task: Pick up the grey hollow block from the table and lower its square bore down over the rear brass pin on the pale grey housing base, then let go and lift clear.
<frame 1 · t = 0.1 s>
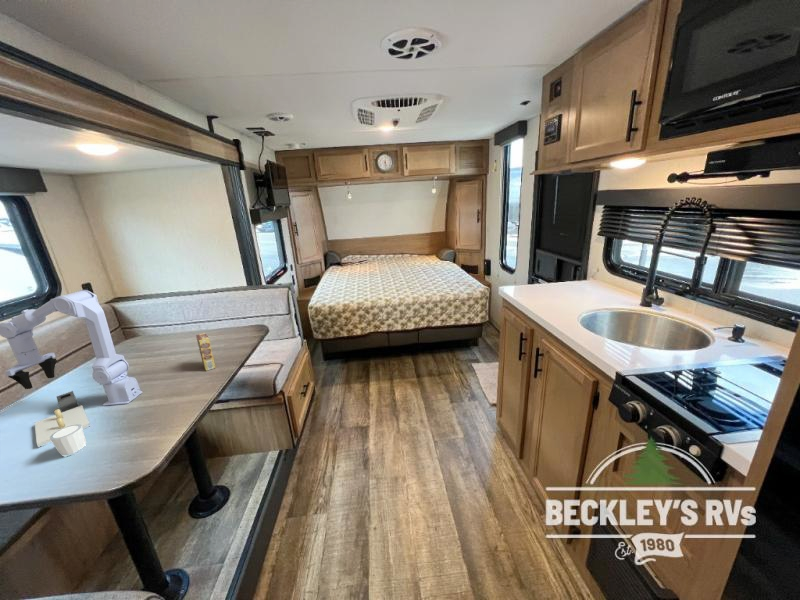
hand: (40, 382, 118), 10 cm above the table, tool pointing down, fingers open, 7 cm apart
grey hollow block: (70, 407, 119), on the table
white faceted cup: (74, 450, 95), on the table
housing base: (63, 426, 107), on the table
candy box: (209, 366, 145), on the table
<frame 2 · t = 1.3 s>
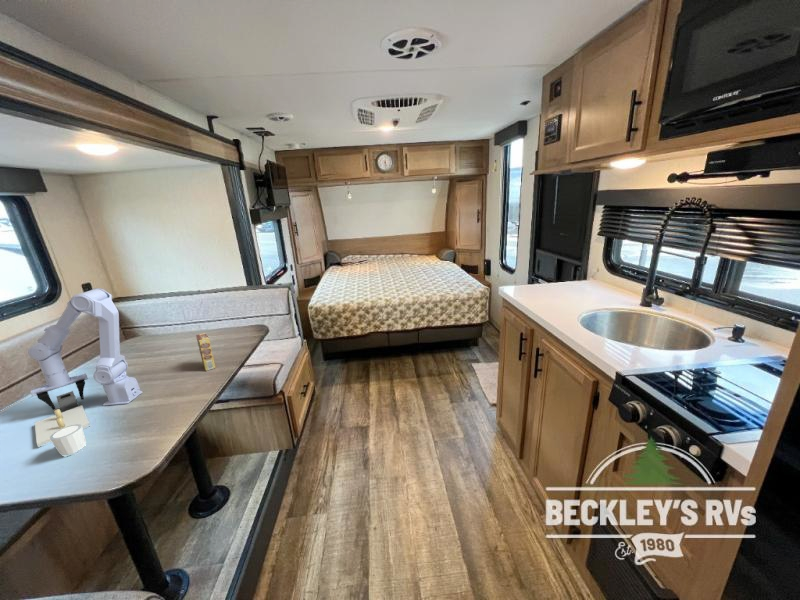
hand: (68, 403, 118), 2 cm above the table, tool pointing down, fingers open, 7 cm apart
nothing on the table moved.
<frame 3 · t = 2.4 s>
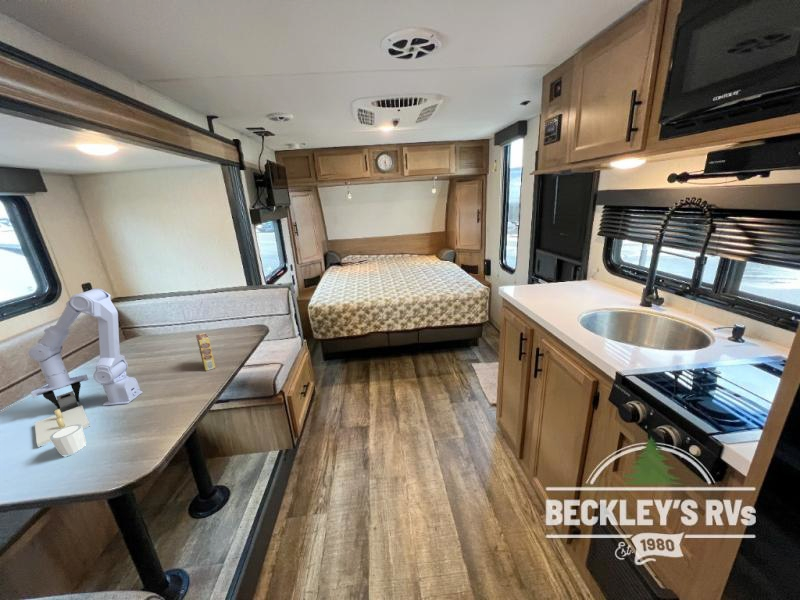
hand: (68, 404, 118), 1 cm above the table, tool pointing down, fingers closed on grey hollow block, 4 cm apart
grey hollow block: (70, 407, 119), on the table, touching gripper
everything else where it was.
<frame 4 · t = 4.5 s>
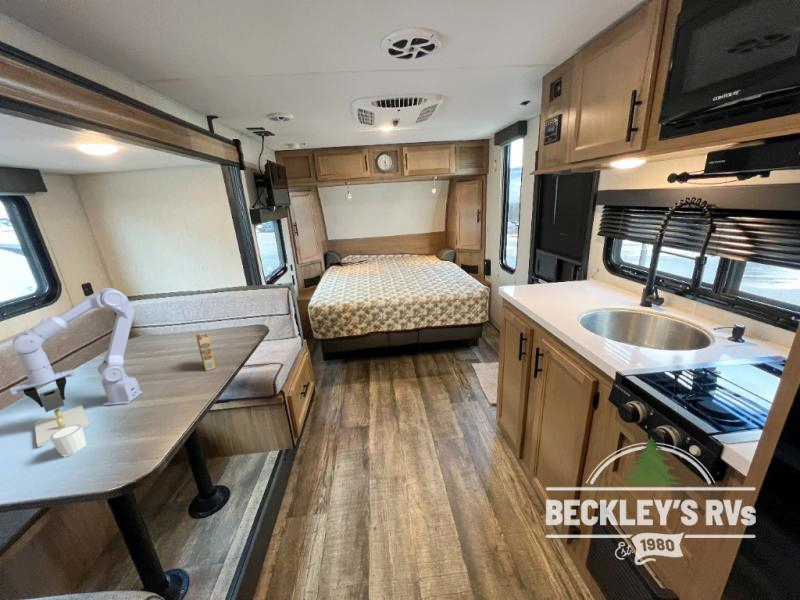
hand: (53, 402, 107), 8 cm above the table, tool pointing down, fingers closed on grey hollow block, 4 cm apart
grey hollow block: (54, 405, 108), point 7 cm above the table, touching gripper
everything else where it was.
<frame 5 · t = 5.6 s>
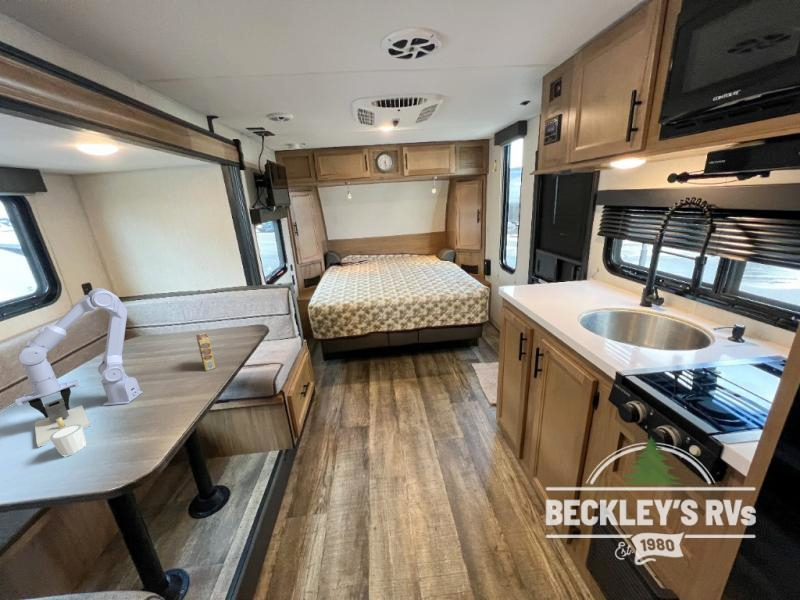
hand: (57, 412, 109), 4 cm above the table, tool pointing down, fingers closed on grey hollow block, 4 cm apart
grey hollow block: (59, 416, 109), point 2 cm above the table, touching gripper
everything else where it was.
when the fingers open (4 cm above the table, at t = 6.5 s): grey hollow block stays where it is, resting on housing base.
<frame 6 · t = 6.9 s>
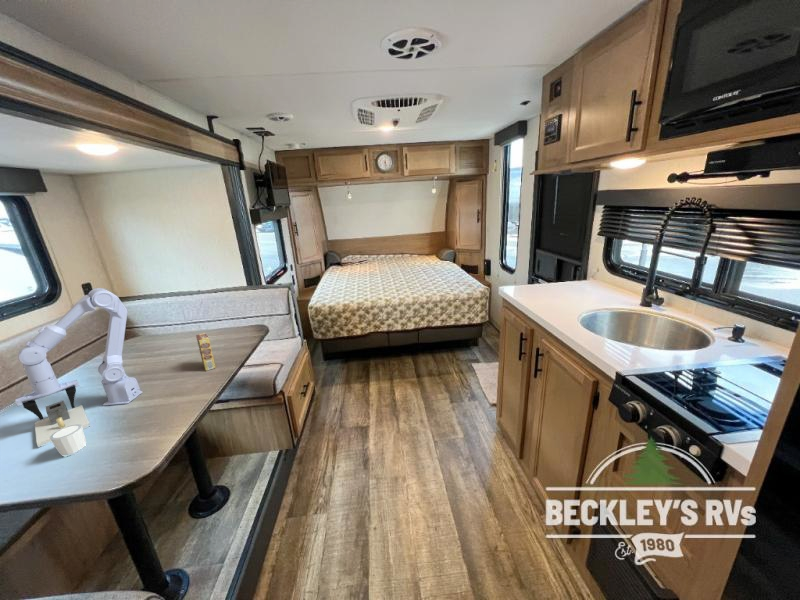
hand: (57, 412, 109), 4 cm above the table, tool pointing down, fingers open, 7 cm apart
grey hollow block: (60, 418, 109), point 1 cm above the table, touching housing base
everything else where it was.
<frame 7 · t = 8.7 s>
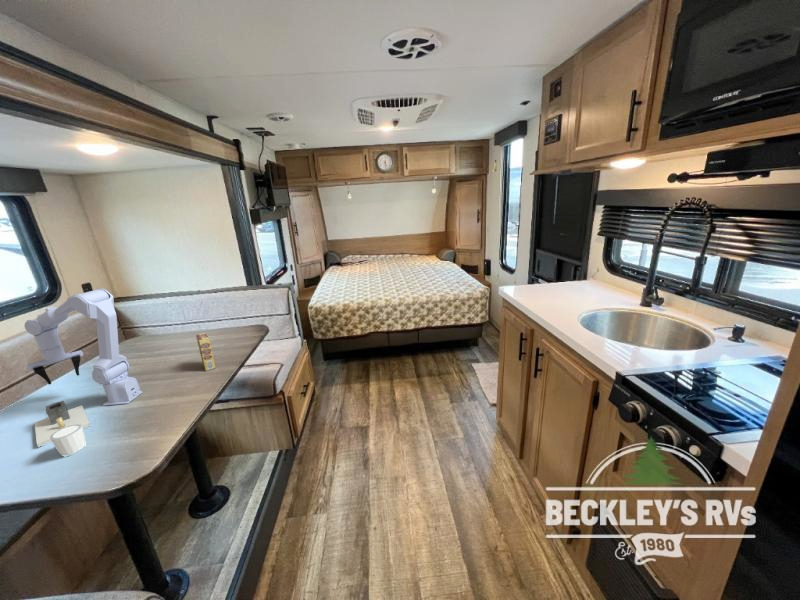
hand: (64, 379, 121), 9 cm above the table, tool pointing down, fingers open, 7 cm apart
nothing on the table moved.
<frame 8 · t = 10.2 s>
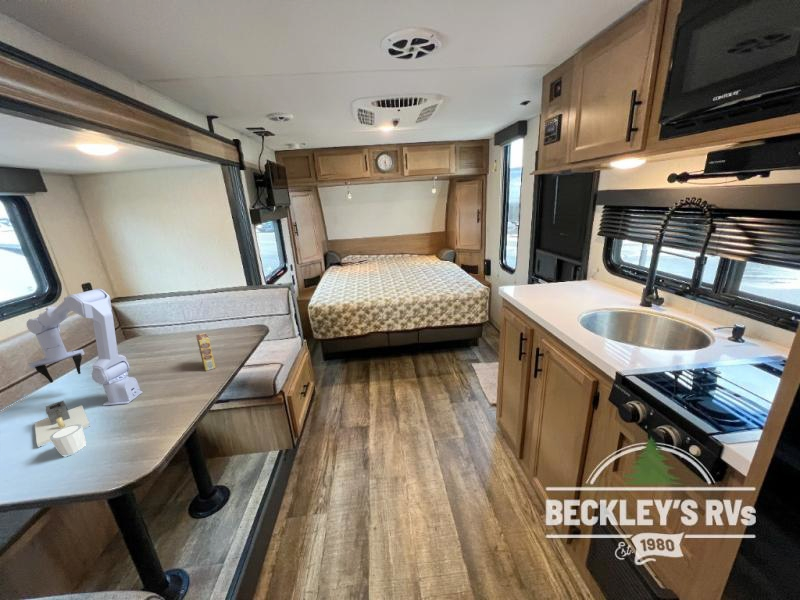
hand: (65, 377, 122), 9 cm above the table, tool pointing down, fingers open, 7 cm apart
nothing on the table moved.
at the end: grey hollow block 0.1 cm from the target spot on the housing base, point 1.5 cm above the housing base's base; grey hollow block tilted 0°; the gripper is holding nothing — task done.
